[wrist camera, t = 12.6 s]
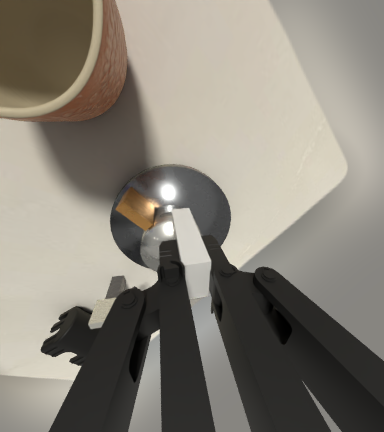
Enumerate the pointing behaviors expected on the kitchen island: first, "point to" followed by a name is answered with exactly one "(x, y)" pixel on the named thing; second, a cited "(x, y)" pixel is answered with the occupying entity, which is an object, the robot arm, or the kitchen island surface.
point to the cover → (158, 235)
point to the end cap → (71, 336)
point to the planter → (60, 59)
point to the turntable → (167, 195)
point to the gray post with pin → (107, 302)
